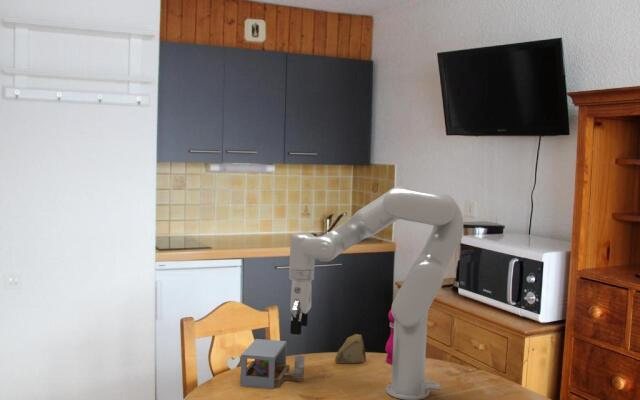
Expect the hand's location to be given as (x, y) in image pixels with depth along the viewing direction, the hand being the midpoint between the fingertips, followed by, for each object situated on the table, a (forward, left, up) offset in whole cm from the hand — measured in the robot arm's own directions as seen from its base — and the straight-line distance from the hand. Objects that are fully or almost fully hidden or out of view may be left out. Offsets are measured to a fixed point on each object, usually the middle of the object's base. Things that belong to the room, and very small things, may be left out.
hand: (298, 329), depth 206 cm
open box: (+11, 0, -16) cm, 19 cm away
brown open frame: (+7, 0, -16) cm, 17 cm away
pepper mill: (-28, -26, -16) cm, 42 cm away
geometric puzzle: (+11, 0, -16) cm, 19 cm away
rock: (-13, -23, -16) cm, 31 cm away
